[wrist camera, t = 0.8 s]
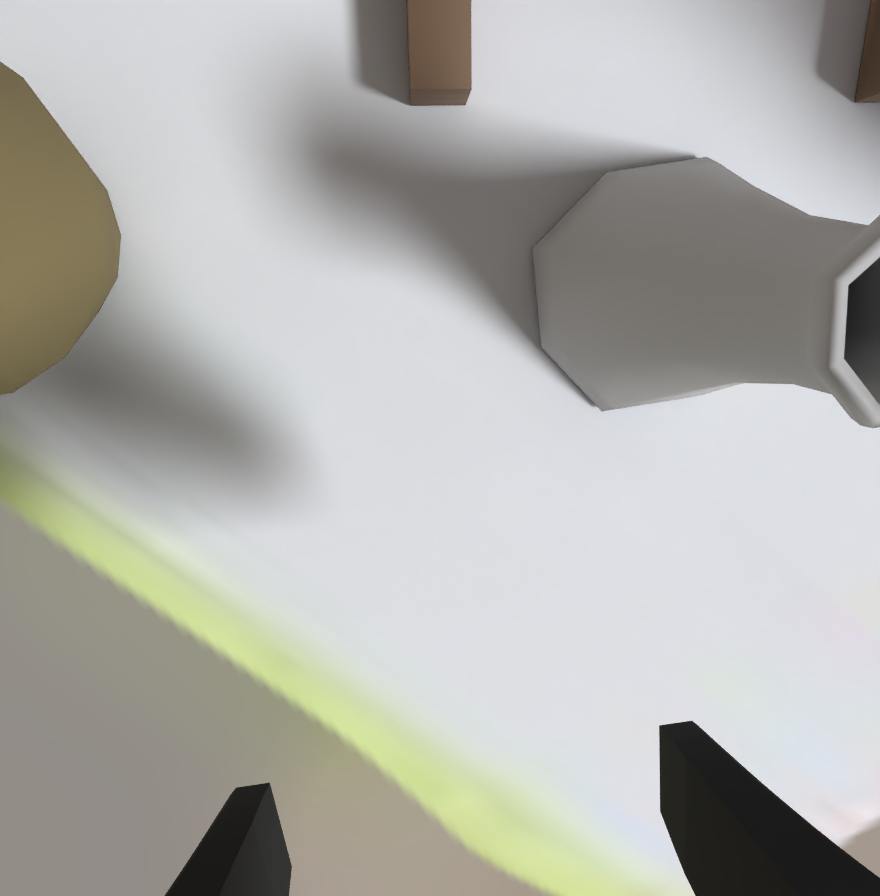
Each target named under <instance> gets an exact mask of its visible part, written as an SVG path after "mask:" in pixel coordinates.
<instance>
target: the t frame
mask: <svg viewBox="0 0 880 896" xmlns="http://www.w3.org/2000/svg"><path fill="white" fill-rule="evenodd" d="M407 30H408V61H409V93H410V106H429V105H466V102H467V99H468V97H469V94H470V92H471V0H407ZM860 102H880V0H871V6H870V12H869V18H868V24H867V30H866V36H865V43H864V49H863V55H862V61H861V67H860V73H859V79H858V85H857V91H856V97H855V103H860Z"/></svg>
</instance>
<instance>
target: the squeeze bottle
mask: <svg viewBox="0 0 880 896" xmlns="http://www.w3.org/2000/svg"><path fill="white" fill-rule="evenodd" d="M120 240H121V234H120V231H119V227H118V224H117V221H116V218H115V214H114V211H113V208H112V205H111V201H110V198H109V195H108V192H107V190H106V188H105V187H104V185H103V184H102V183H101V181H100V180H99V179H98V177H97V176H96V175H95V173H94V172H93V171H92V169H91V168H90V167H89V165H88V164H87V162H86V161H85V160H84V158H83V157H82V156H81V154H80V153H79V152H78V150H77V149H76V148H75V146H74V145H73V144H72V142H71V141H70V140H69V138H68V137H67V136H66V134H65V133H64V132H63V130H62V129H61V128H60V126H59V125H58V124H57V122H56V121H55V120H54V118H53V117H52V116H51V114H50V113H49V112H48V110H47V109H46V108H45V106H44V105H43V104H42V102H41V101H40V100H39V98H38V97H37V96H36V94H35V93H34V92H33V90H32V89H31V88H30V86H29V85H28V84H27V82H26V81H25V80H24V78H23V77H21V76H20V75H18V74H17V73H16V72H14V71H13V70H11V69H10V68H9V67H7V66H6V65H4V64H3V63H1V62H0V395H1V394H7V393H13V392H14V391H16V390H17V389H19V388H20V387H22V386H23V385H25V384H26V383H28V382H29V381H30V380H32V379H33V378H35V377H36V376H38V375H39V374H41V373H42V372H44V371H45V370H46V369H48V368H49V367H51V366H52V365H54V364H55V363H57V362H58V361H60V360H61V359H63V358H64V357H65V356H66V355H67V354H68V352H69V351H70V349H71V348H72V347H73V345H74V344H75V343H76V341H77V340H78V339H79V337H80V336H81V335H82V333H83V332H84V331H85V329H86V328H87V326H88V325H89V324H90V322H91V321H92V320H93V318H94V317H95V316H96V314H97V313H98V312H99V310H100V308H101V306H102V304H103V303H104V301H105V299H106V297H107V295H108V294H109V292H110V290H111V288H112V286H113V285H114V283H115V281H116V279H117V277H118V265H119V252H120Z"/></svg>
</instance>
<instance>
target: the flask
mask: <svg viewBox="0 0 880 896" xmlns="http://www.w3.org/2000/svg"><path fill="white" fill-rule="evenodd" d="M532 252H533V263H534V274H535V284H536V295H537V306H538V316H539V327H540V338H541V347H542V348H543V350H544V351H545V352H546V353H547V354H548V355H549V356H550V357H551V358H552V359H553V360H554V361H555V362H556V363H557V364H558V365H559V366H560V368H561V369H562V370H563V371H564V372H565V373H566V374H567V375H568V376H569V377H570V378H571V379H572V380H573V381H574V382H575V383H576V384H577V386H578V387H579V388H580V389H581V390H582V391H583V392H584V393H585V394H586V395H587V396H588V397H589V398H590V399H591V400H592V401H593V402H594V404H595V405H596V406H597V407H598V408H599V409H600V410H601V411H607V410H613V409H619V408H626V407H632V406H638V405H644V404H651V403H657V402H663V401H670V400H676V399H682V398H689V397H694V396H699V395H703V394H706V393H710V392H713V391H717V390H720V389H723V388H727V387H730V386H734V385H737V384H742V383H770V384H795V385H799V386H803V387H806V388H810V389H814V390H818V391H821V392H825V393H829V394H832V395H833V396H834V397H835V398H836V400H837V401H838V402H839V404H840V405H841V406H842V407H843V409H844V410H845V411H846V412H847V414H848V415H849V416H850V417H851V418H852V419H853V420H854V421H856V422H857V423H858V424H860V425H862V426H866V427H870V428H877V427H880V215H879V216H878V217H877V218H876V219H875V220H874V221H873V222H872V223H871V224H870V225H864V224H858V223H852V222H846V221H840V220H835V219H829V218H823V217H817V216H811V215H808V214H807V213H805V212H803V211H801V210H799V209H797V208H795V207H793V206H791V205H789V204H787V203H785V202H783V201H782V200H780V199H778V198H776V197H774V196H772V195H770V194H768V193H766V192H764V191H762V190H760V189H758V188H757V187H755V186H753V185H751V184H750V183H748V182H747V181H745V180H744V179H742V178H741V177H739V176H738V175H736V174H735V173H733V172H731V171H730V170H728V169H727V168H725V167H724V166H722V165H721V164H719V163H717V162H715V161H713V160H712V159H710V158H708V157H703V158H696V159H690V160H683V161H676V162H670V163H663V164H656V165H650V166H643V167H637V168H630V169H623V170H617V171H610V172H606V173H605V174H604V175H603V176H602V177H601V178H600V179H599V180H598V181H597V182H596V183H595V184H594V186H593V187H592V188H591V189H590V190H589V191H588V192H587V193H586V194H585V195H584V196H583V197H582V198H581V199H580V200H579V201H578V202H577V203H576V204H575V205H574V206H573V207H572V208H571V209H570V210H569V211H568V212H567V213H566V214H565V215H564V216H563V217H562V218H561V219H560V220H559V221H558V222H557V223H556V224H555V225H554V227H553V228H552V229H551V230H550V231H549V232H548V233H547V234H546V235H545V236H544V237H543V238H542V239H541V240H540V241H539V242H538V243H537V244H536V245H535V246H534V247H533V248H532Z"/></svg>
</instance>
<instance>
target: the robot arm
mask: <svg viewBox="0 0 880 896" xmlns="http://www.w3.org/2000/svg"><path fill="white" fill-rule="evenodd" d="M659 733H660V811H661V814H662V817H663V819H664V822H665V825H666V827H667V830H668V832H669V835H670V838H671V840H672V843H673V846H674V848H675V851H676V853H677V856H678V858H679V861H680V863H681V866H682V868H683V871H684V873H685V875H686V877H687V879H688V881H689V883H690V885H691V887H692V889H693V891H694V893H695V895H696V896H880V878H879V877H878V876H876V875H875V874H874V873H872V872H871V871H870V870H868V869H867V868H866V867H864V866H863V865H862V864H860V863H859V862H858V861H856V860H855V859H854V858H853V857H851V856H850V855H849V854H848V853H846V852H845V851H844V850H842V849H841V848H840V847H838V846H837V845H836V844H835V843H833V842H832V841H831V840H830V839H828V838H827V837H826V836H825V835H823V834H822V833H821V832H820V831H818V830H817V829H816V828H815V827H813V826H812V825H811V824H810V823H809V822H807V821H806V820H805V819H804V818H803V817H801V816H800V815H799V814H798V813H797V812H795V811H794V810H793V809H792V808H791V807H789V806H788V805H787V804H786V803H785V802H783V801H782V800H781V799H780V798H779V797H778V796H776V795H775V794H774V793H773V792H772V791H771V790H769V789H768V788H767V787H766V786H765V785H764V784H762V783H761V782H760V781H759V780H758V779H757V778H756V777H754V776H753V775H752V774H751V773H750V772H749V771H748V770H747V769H745V768H744V767H743V766H742V765H741V764H740V763H739V762H738V761H736V760H735V759H734V758H733V757H732V756H731V755H730V754H729V753H728V752H726V751H725V750H724V749H723V748H722V747H721V746H720V745H719V744H718V743H717V742H715V741H714V740H713V739H712V738H711V737H710V736H709V735H708V734H707V733H706V732H704V731H703V730H702V729H701V728H700V727H699V726H698V725H697V724H695V723H694V722H693V721H687V722H681V723H674V724H667V725H660V726H659ZM291 868H292V866H291V862H290V858H289V854H288V851H287V847H286V843H285V839H284V835H283V832H282V828H281V824H280V820H279V816H278V813H277V809H276V805H275V801H274V797H273V794H272V790H271V786H270V783H265V784H258V785H251V786H244V787H238V788H236V789H235V790H234V791H233V792H232V794H231V795H230V797H229V798H228V800H227V801H226V803H225V805H224V806H223V808H222V809H221V811H220V812H219V814H218V815H217V817H216V819H215V820H214V822H213V823H212V825H211V826H210V828H209V830H208V831H207V833H206V834H205V836H204V837H203V839H202V841H201V842H200V844H199V845H198V847H197V848H196V850H195V851H194V853H193V854H192V856H191V857H190V859H189V860H188V862H187V863H186V865H185V867H184V868H183V870H182V871H181V872H180V874H179V875H178V877H177V878H176V880H175V881H174V883H173V884H172V886H171V887H170V889H169V890H168V892H167V893H166V895H165V896H289V888H290V878H291Z"/></svg>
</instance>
